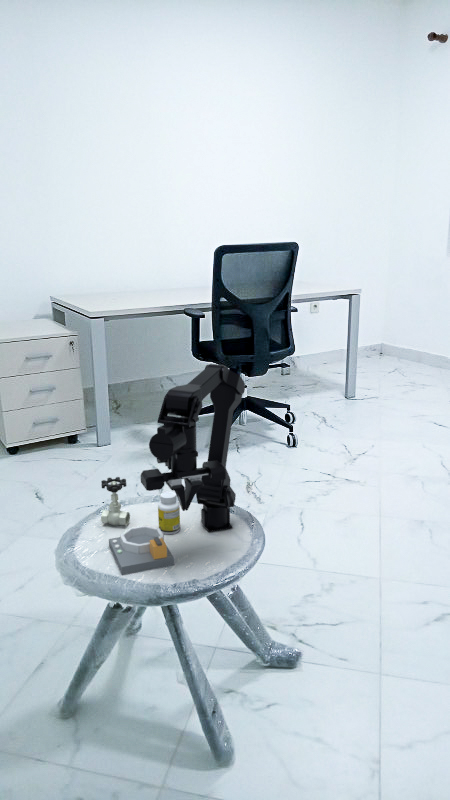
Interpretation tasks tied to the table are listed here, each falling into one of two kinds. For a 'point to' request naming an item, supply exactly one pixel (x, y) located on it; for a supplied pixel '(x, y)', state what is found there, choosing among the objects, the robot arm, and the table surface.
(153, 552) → the orange block
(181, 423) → the robot arm
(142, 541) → the octagon socket plate
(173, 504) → the supplement bottle
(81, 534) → the table surface
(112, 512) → the valve
